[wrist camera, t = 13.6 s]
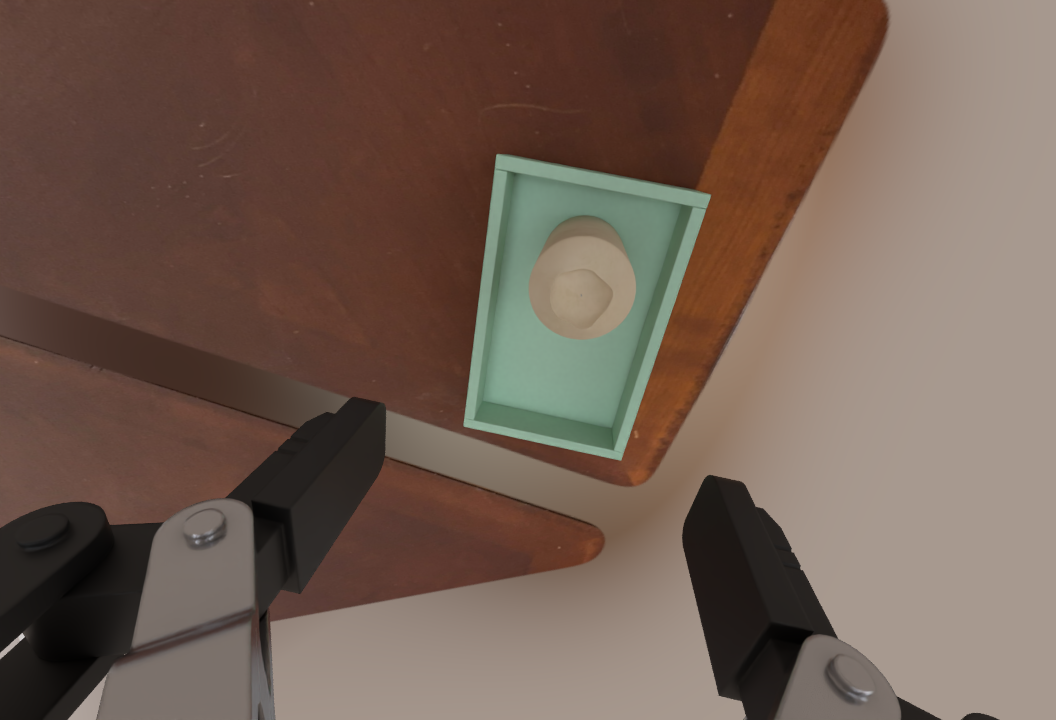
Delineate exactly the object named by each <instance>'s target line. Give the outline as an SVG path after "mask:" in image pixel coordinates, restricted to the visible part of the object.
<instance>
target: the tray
mask: <svg viewBox="0 0 1056 720" xmlns="http://www.w3.org/2000/svg"><path fill="white" fill-rule="evenodd" d="M710 197H711V195H710V194H707V193H704V192H701V191H697V190H693V189H688V188H682V187H677V186H672V185H667V184H661V183H656V182H651V181H646V180H640V179H635V178H630V177H625V176H619V175H614V174H609V173H603V172H598V171H593V170H588V169H582V168H577V167H572V166H567V165H561V164H556V163H551V162H546V161H540V160H535V159H530V158H525V157H519V156H514V155H509V154H497V155H496V162H495V171H494V179H493V187H492V196H491V204H490V212H489V220H488V228H487V237H486V245H485V253H484V261H483V269H482V278H481V286H480V294H479V302H478V311H477V319H476V327H475V335H474V343H473V352H472V360H471V368H470V376H469V384H468V393H467V401H466V409H465V418H464V427H469V428H474V429H478V430H483V431H487V432H492V433H497V434H501V435H506V436H510V437H515V438H520V439H524V440H529V441H533V442H538V443H543V444H547V445H552V446H556V447H561V448H566V449H570V450H575V451H579V452H584V453H589V454H593V455H598V456H602V457H607V458H612V459H616V460H621V459H622V456H623V452H624V450H625V447H626V444H627V441H628V438H629V436H630V433H631V430H632V427H633V424H634V421H635V418H636V415H637V412H638V409H639V406H640V403H641V400H642V397H643V394H644V391H645V388H646V385H647V383H648V380H649V377H650V374H651V371H652V368H653V365H654V362H655V359H656V356H657V353H658V350H659V347H660V344H661V341H662V338H663V335H664V332H665V329H666V327H667V324H668V321H669V318H670V315H671V312H672V309H673V306H674V303H675V300H676V297H677V294H678V291H679V288H680V285H681V282H682V279H683V276H684V274H685V271H686V268H687V265H688V262H689V259H690V256H691V253H692V250H693V247H694V244H695V241H696V238H697V235H698V232H699V229H700V226H701V223H702V220H703V218H704V215H705V212H706V208H707V206H708V203H709V200H710ZM582 215H587V216H594V217H597V218H600V219H602V220H604V221H606V222H607V223H609V224H610V225H611V226H612V227H613V228H614V229H615V230H616V232H617V233H618V235H619V236H620V238H621V241H622V243H623V246H624V248H625V251H626V253H627V256H628V258H629V261H630V263H631V266H632V268H633V271H634V275H635V280H636V294H635V299H634V302H633V306H632V308H631V310H630V312H629V313H628V315H627V317H626V318H625V319H624V320H623V321H622V323H621V324H620V325H618V326H617V327H616V328H615V329H613V330H612V331H610V332H609V333H607V334H605V335H602V336H600V337H597V338H593V339H586V340H577V339H570V338H566V337H563V336H560V335H558V334H556V333H554V332H553V331H551V330H550V329H548V328H547V327H546V326H545V325H544V324H543V323H542V322H541V321H540V320H539V318H538V317H537V316H536V314H535V312H534V310H533V308H532V305H531V302H530V298H529V280H530V275H531V272H532V269H533V267H534V265H535V263H536V261H537V259H538V257H539V255H540V253H541V251H542V249H543V247H544V245H545V243H546V241H547V239H548V237H549V235H550V234H551V232H552V231H553V230H554V229H555V228H556V227H557V226H558V225H559V224H560V223H562V222H563V221H565V220H567V219H569V218H572V217H575V216H582Z"/></svg>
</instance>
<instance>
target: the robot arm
mask: <svg viewBox="0 0 1056 720" xmlns="http://www.w3.org/2000/svg"><path fill="white" fill-rule="evenodd" d="M385 432H386V407H385V405H384V403H380V402H376V401H371V400H366V399H362V398H357V397H352V398H351V399H349V400H348V401H347V403H345V404H344V406H342V407H341V408H340V410H339V411H338V412H337V413H336V414H333V413H329V412H326V413H324V414H322V415H320V416H317V417H315V418H313V419H311V420H310V421H307V422H305V423H304V424H303V425H302V426H301V427H300V428H299V429H298V430H297V431H296V432H295V433H294V434H293V435H292V436H291V438H290V439H287V440H286V441H285V442H284V443H283V444H282V445H281V446H280V447H279V448H278V451H275V452H274V453H273V454H271V455H270V456H269V457H268V458H267V459H266V460H265V461H264V462H263V463H262V464H261V465H260V466H259V467H258V468H257V469H256V470H255V471H253V472H252V473H251V474H250V475H249V476H248V477H247V478H246V479H245V480H244V481H243V482H242V483H241V484H240V485H239V486H238V487H236V488H235V489H234V490H233V491H232V492H231V493H230V494H229V495H228V496H227V497H226V498H219V499H211V500H206V501H202V502H199V503H196V504H193V505H191V506H189V507H186V508H184V509H182V510H181V511H179V512H177V513H176V514H174V515H173V516H171V517H170V518H169V519H168V520H167V521H165V522H163V523H144V524H123V525H109V522H108V520H107V517H106V514H105V512H104V510H103V509H102V508H101V507H99V506H97V505H95V504H92V503H87V502H69V503H61V504H56V505H52V506H48V507H45V508H41V509H38V510H36V511H33V512H30V513H28V514H26V515H23V516H21V517H19V518H17V519H15V520H13V521H11V522H10V523H8V524H6V525H5V526H3V527H2V528H0V652H1V651H2V650H4V649H5V648H6V647H7V646H8V645H9V644H10V643H11V642H12V641H14V639H16V638H17V637H18V636H19V635H20V634H21V633H23V634H24V636H25V638H23V639H22V640H21V641H20V642H19V643H18V644H17V645H16V646H15V647H14V648H13V649H11V650H10V651H9V652H8V653H7V654H6V655H5V656H4V657H3V658H1V659H0V720H68V718H69V717H70V716H71V715H72V714H73V712H74V711H75V710H76V709H77V708H78V707H79V706H80V705H81V703H82V702H83V701H84V700H85V699H86V698H87V696H88V695H89V694H90V693H91V692H92V691H93V690H94V688H95V687H96V686H97V685H98V684H99V683H100V681H101V680H102V679H103V678H104V677H105V676H106V674H107V673H108V674H107V677H106V681H105V685H104V689H103V693H102V697H101V702H100V706H99V710H98V714H97V719H96V720H275V710H274V694H273V674H272V673H273V672H272V652H271V632H270V611H269V606H270V604H271V603H272V601H273V600H274V599H275V597H276V596H277V594H278V593H279V592H280V590H286V591H290V592H294V593H298V594H301V592H302V591H303V589H304V588H305V586H306V584H307V583H308V581H309V580H310V578H311V577H312V575H313V574H314V572H315V571H316V569H317V568H318V566H319V565H320V563H321V562H322V560H323V559H324V557H325V556H326V554H327V553H328V551H329V550H330V548H331V546H332V545H333V543H334V542H335V540H336V539H337V537H338V536H339V534H340V533H341V531H342V530H343V528H344V527H345V525H346V524H347V522H348V521H349V519H350V518H351V516H352V515H353V513H354V511H355V510H356V508H357V507H358V505H359V504H360V502H361V501H362V499H363V498H364V496H365V495H366V493H367V492H368V490H369V489H370V487H371V486H372V484H373V483H374V481H375V480H376V478H377V476H378V475H379V473H380V470H381V468H382V465H383V461H384V457H385V434H386V433H385ZM682 540H683V548H684V552H685V557H686V561H687V565H688V569H689V573H690V577H691V582H692V585H693V590H694V594H695V598H696V602H697V606H698V611H699V614H700V619H701V623H702V627H703V631H704V636H705V640H706V644H707V648H708V652H709V656H710V660H711V665H712V669H713V673H714V677H715V681H716V685H717V690H718V694H719V696H722V697H727V698H731V699H735V700H740V701H742V703H743V707H744V710H745V714H746V717H745V718H744V719H743V720H941V719H939V718H937V717H935V716H934V715H932V714H930V713H928V712H926V711H924V710H922V709H920V708H918V707H916V706H914V705H912V704H911V703H909V702H907V701H905V700H903V699H901V698H899V697H897V696H896V695H895V693H894V691H893V689H892V687H891V686H890V684H889V683H888V681H887V680H886V678H885V677H884V676H883V674H882V673H881V672H880V671H879V670H878V669H877V667H876V666H875V665H874V664H873V663H872V662H871V661H870V660H868V659H867V658H866V657H865V656H864V655H863V654H861V653H860V652H859V651H858V650H856V649H855V648H853V647H851V646H850V645H849V644H847V643H845V642H843V641H841V640H839V639H838V638H837V636H836V634H835V632H834V630H833V628H832V626H831V624H830V622H829V620H828V618H827V616H826V614H825V612H824V610H823V609H822V606H821V605H820V603H819V601H818V599H817V597H816V595H815V593H814V591H813V589H812V587H811V585H810V583H809V581H808V579H807V577H806V575H805V574H804V572H803V570H800V564H799V562H798V560H797V558H796V556H795V554H794V553H792V552H791V549H792V548H791V546H790V544H789V543H788V541H787V539H786V537H785V535H784V533H783V531H782V529H781V527H780V526H779V525H778V524H777V523H776V522H775V521H774V520H773V519H772V518H771V517H770V515H768V513H767V512H766V511H765V510H764V509H763V508H758V507H755V504H754V502H753V500H752V498H751V496H750V494H749V492H748V490H747V488H746V486H745V484H744V483H742V482H740V481H736V480H731V479H726V478H722V477H717V476H713V475H708V476H707V477H706V478H705V479H704V481H703V483H702V485H701V487H700V489H699V491H698V494H697V496H696V498H695V500H694V502H693V504H692V506H691V509H690V511H689V513H688V515H687V517H686V519H685V523H684V527H683V534H682ZM124 654H125V655H124ZM961 720H998V719H996V718H994V717H991V716H989V715H985V714H981V713H971V714H968V715H966V716H965V717H964V718H963V719H961Z"/></svg>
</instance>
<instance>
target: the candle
mask: <svg viewBox="0 0 1056 720" xmlns="http://www.w3.org/2000/svg"><path fill="white" fill-rule="evenodd" d="M635 294H636V280H635V275H634V271H633V268H632V266H631V263H630V261H629V258H628V256H627V253H626V251H625V248H624V246H623V243H622V241H621V238H620V236H619V235H618V233H617V232H616V230H615V229H614V228H613V227H612V226H611V225H610V224H609V223H607V222H606V221H604V220H602V219H600V218H597V217H594V216H587V215H582V216H575V217H572V218H569V219H567V220H565V221H563V222H562V223H560V224H559V225H558V226H557V227H556V228H555V229H554V230H553V231H552V232H551V234H550V235H549V237H548V239H547V241H546V243H545V245H544V247H543V249H542V251H541V253H540V255H539V257H538V259H537V261H536V263H535V265H534V267H533V269H532V272H531V275H530V280H529V298H530V302H531V305H532V308H533V310H534V312H535V314H536V316H537V317H538V318H539V320H540V321H541V322H542V323H543V324H544V325H545V326H546V327H547V328H548V329H550V330H551V331H553V332H554V333H556V334H558V335H560V336H563V337H566V338H570V339H577V340H586V339H593V338H597V337H600V336H602V335H605V334H607V333H609V332H610V331H612V330H613V329H615V328H616V327H617V326H618V325H620V324H621V323H622V321H623V320H624V319H625V318H626V317H627V315H628V313H629V312H630V310H631V308H632V306H633V302H634V299H635Z"/></svg>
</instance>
